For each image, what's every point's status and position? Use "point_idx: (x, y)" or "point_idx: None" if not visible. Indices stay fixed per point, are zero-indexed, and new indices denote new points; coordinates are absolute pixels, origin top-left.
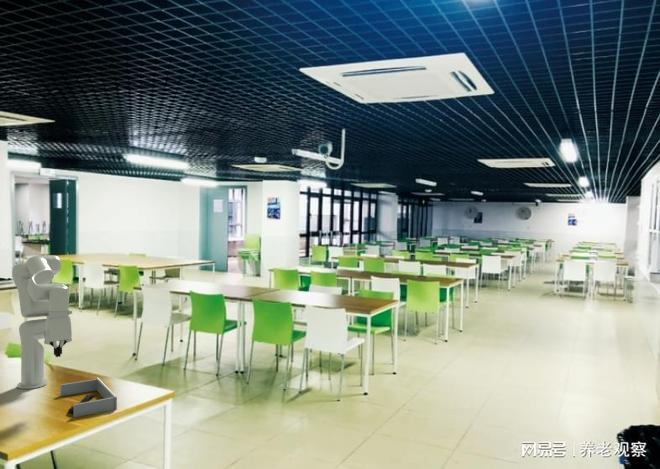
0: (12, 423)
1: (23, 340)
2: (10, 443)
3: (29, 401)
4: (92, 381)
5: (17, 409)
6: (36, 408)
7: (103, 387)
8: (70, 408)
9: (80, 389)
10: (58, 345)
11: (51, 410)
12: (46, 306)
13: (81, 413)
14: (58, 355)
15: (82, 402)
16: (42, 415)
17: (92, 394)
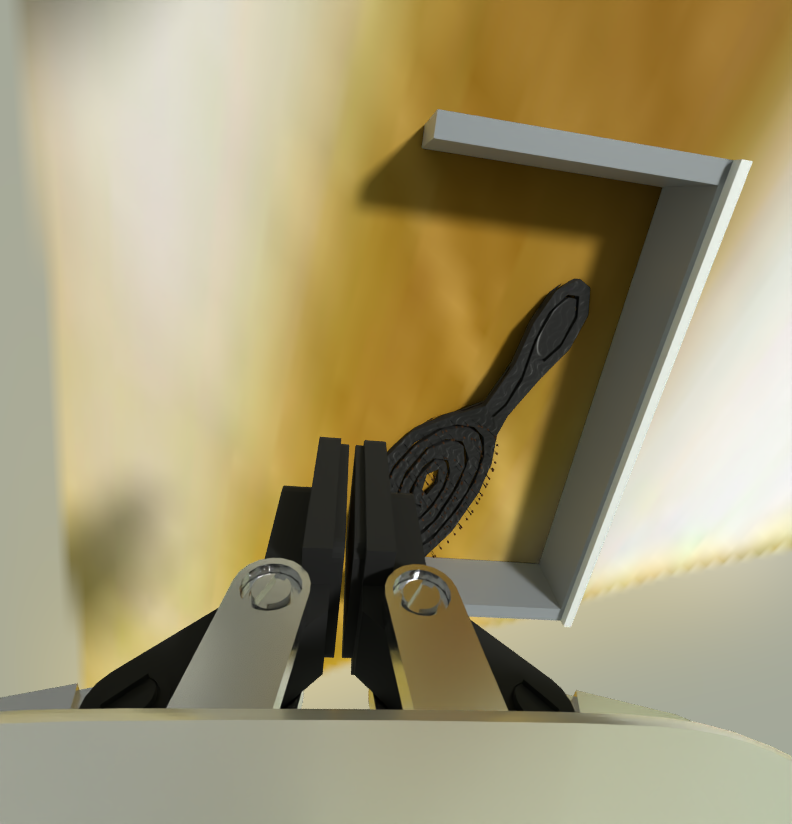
0: (95, 476)
1: None
2: (96, 668)
3: (203, 108)
4: (678, 181)
5: (117, 251)
6: (229, 315)
7: (631, 410)
8: None
9: (566, 168)
10: (361, 623)
11: (299, 408)
12: None
13: None
14: (346, 538)
15: (465, 425)
16: (243, 455)
17: (578, 308)
